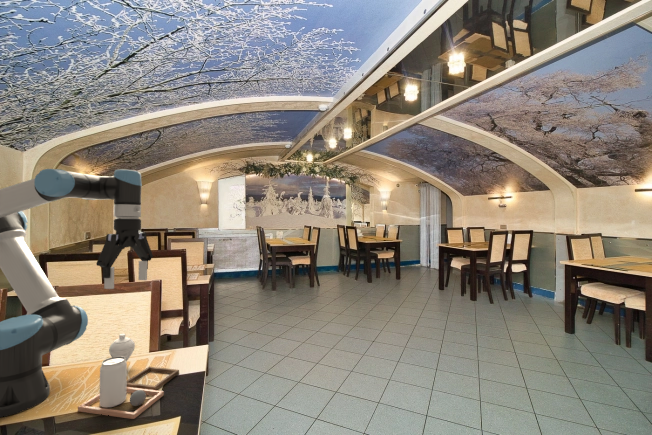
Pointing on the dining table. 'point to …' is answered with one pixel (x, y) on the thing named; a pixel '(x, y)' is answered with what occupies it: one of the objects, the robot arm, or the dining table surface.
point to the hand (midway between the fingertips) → (127, 284)
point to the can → (113, 382)
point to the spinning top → (122, 347)
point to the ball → (137, 397)
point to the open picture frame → (117, 413)
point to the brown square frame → (153, 369)
